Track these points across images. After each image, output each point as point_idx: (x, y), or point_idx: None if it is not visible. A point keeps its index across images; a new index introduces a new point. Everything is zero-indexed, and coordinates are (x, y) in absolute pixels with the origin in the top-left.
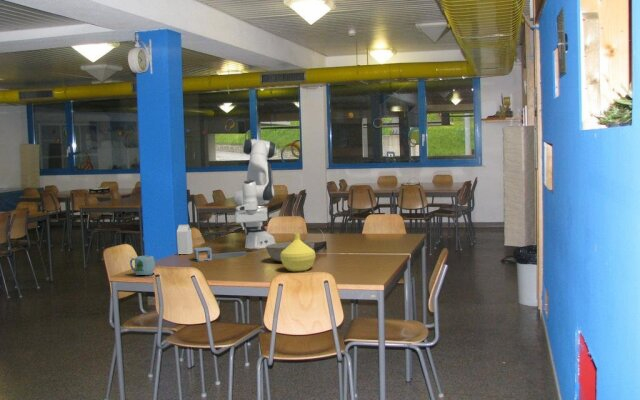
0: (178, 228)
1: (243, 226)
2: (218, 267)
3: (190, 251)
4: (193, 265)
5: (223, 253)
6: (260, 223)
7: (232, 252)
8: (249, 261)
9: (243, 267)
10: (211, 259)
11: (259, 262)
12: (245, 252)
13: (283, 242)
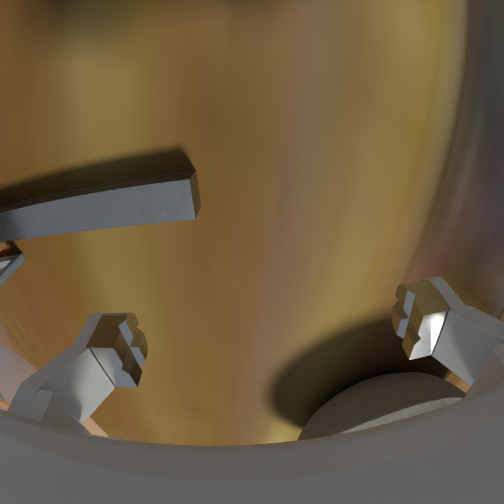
0: None
1: (102, 396)
2: (114, 409)
3: None
4: (15, 340)
5: (45, 221)
6: (475, 375)
7: (92, 203)
8: (217, 377)
9: (198, 437)
10: (22, 261)
11: (258, 404)
12: (191, 217)
13: (413, 406)
